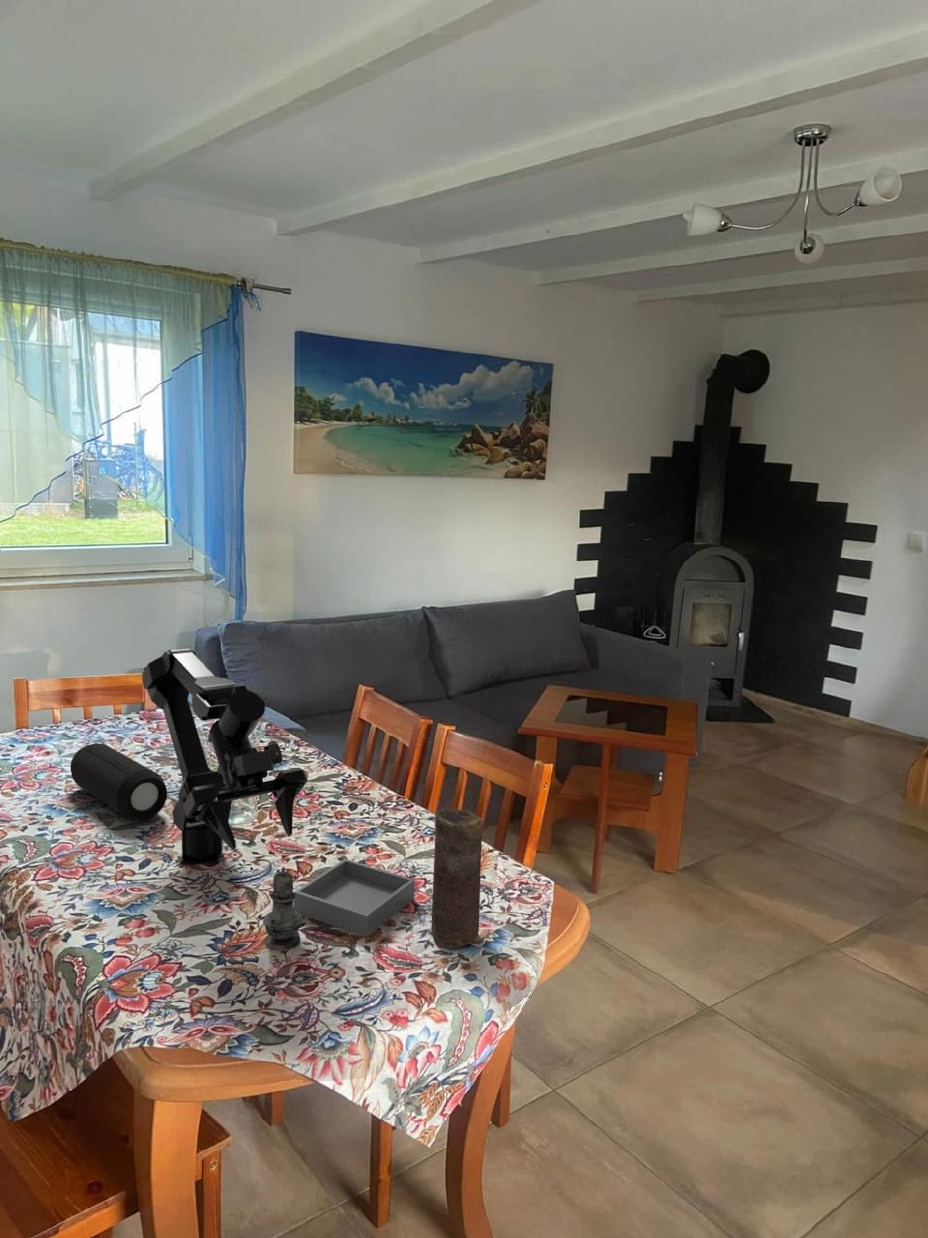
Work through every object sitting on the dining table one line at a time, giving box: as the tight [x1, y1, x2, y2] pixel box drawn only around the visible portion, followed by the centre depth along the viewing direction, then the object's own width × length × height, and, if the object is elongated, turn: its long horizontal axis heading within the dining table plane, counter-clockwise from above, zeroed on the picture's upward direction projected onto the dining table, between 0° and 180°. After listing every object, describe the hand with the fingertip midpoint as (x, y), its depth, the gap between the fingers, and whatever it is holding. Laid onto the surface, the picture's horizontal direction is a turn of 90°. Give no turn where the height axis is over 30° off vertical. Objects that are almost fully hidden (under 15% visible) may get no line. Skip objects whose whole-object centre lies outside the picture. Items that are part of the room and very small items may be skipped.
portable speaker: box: [69, 742, 168, 820], centre depth 182 cm, size 26×10×10 cm, turn 46°
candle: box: [430, 808, 483, 949], centre depth 136 cm, size 8×7×20 cm
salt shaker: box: [262, 866, 304, 952], centre depth 134 cm, size 6×6×12 cm
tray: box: [293, 858, 416, 938], centre depth 146 cm, size 14×14×4 cm
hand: (262, 841), depth 138 cm, fingers open, 9 cm apart
